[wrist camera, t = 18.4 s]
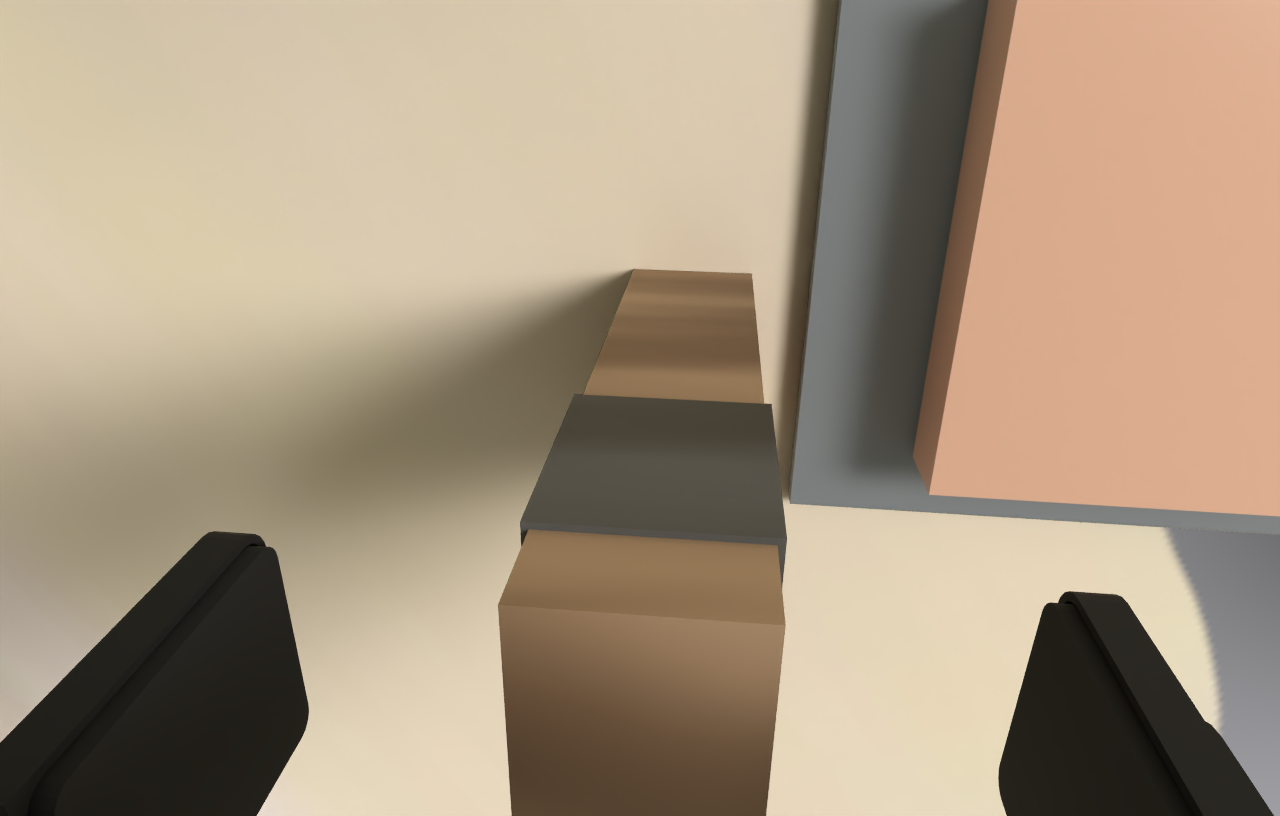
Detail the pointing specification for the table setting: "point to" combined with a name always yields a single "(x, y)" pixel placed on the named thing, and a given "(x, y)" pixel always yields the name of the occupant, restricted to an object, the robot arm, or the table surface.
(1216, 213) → the tile
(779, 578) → the banded brown box
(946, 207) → the mat
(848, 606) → the table surface
